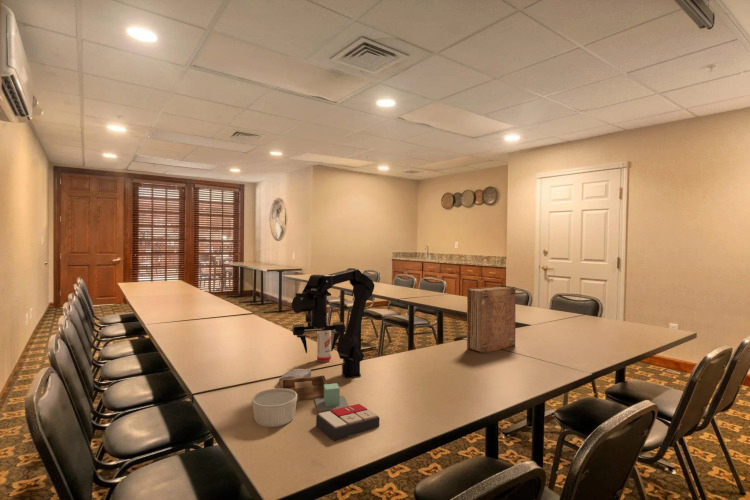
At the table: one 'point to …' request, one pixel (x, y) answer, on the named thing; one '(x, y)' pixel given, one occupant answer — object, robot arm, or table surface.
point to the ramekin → (274, 407)
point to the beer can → (324, 345)
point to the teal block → (331, 394)
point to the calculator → (346, 421)
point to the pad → (323, 408)
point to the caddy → (305, 387)
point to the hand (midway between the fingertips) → (319, 351)
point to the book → (490, 318)
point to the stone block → (296, 374)
